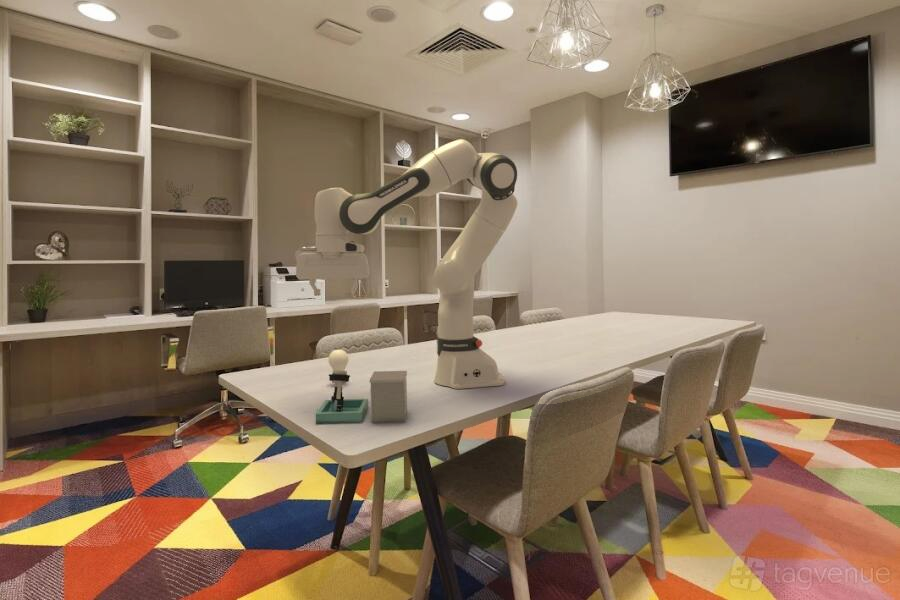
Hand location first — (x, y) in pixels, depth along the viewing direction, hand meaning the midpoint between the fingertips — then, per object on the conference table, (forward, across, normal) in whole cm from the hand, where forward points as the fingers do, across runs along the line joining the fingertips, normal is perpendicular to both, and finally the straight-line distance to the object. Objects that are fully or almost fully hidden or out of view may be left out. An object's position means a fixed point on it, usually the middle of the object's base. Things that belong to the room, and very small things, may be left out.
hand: (334, 295), depth 133 cm
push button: (+28, +4, -20) cm, 34 cm away
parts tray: (+29, +5, -18) cm, 35 cm away
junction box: (+29, +17, -20) cm, 39 cm away
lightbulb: (+29, -2, +12) cm, 32 cm away
